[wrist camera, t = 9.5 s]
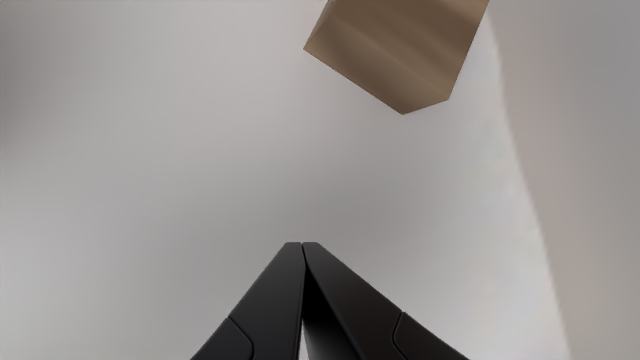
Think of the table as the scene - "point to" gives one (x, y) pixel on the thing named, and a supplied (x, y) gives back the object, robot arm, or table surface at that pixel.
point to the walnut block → (398, 46)
